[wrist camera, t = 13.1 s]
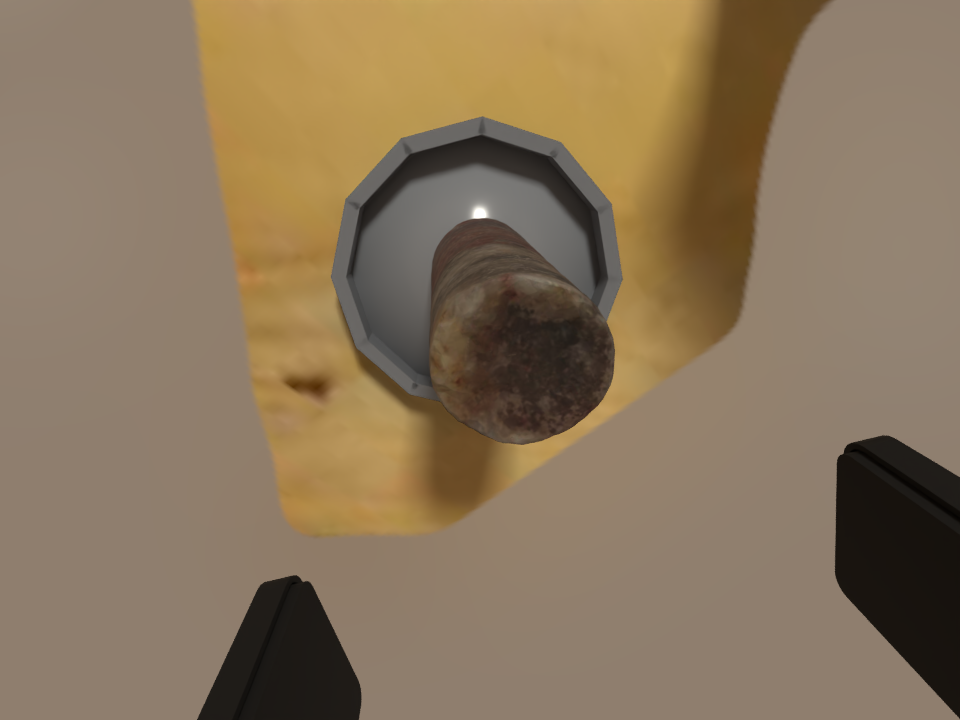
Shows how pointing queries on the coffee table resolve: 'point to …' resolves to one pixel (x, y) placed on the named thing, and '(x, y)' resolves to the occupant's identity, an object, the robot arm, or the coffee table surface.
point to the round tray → (447, 202)
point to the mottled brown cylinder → (512, 337)
